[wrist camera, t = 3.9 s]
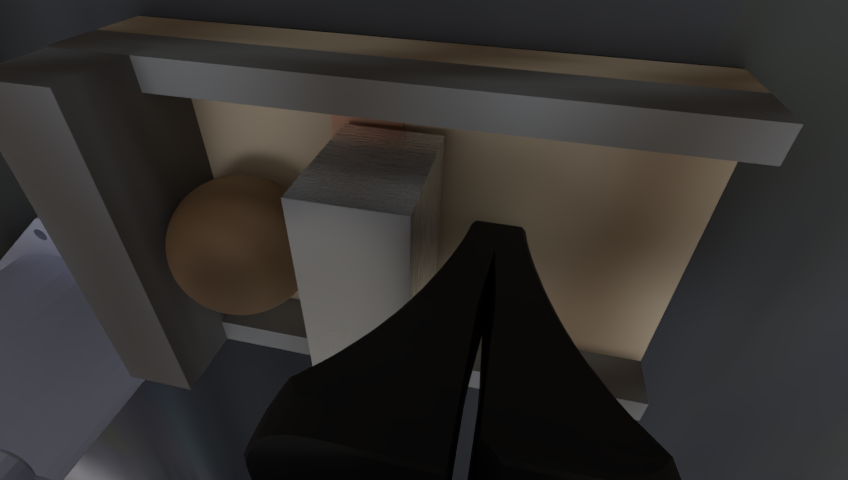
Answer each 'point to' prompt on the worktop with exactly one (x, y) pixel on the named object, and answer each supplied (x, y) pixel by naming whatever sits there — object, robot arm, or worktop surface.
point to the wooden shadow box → (379, 108)
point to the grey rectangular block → (363, 231)
